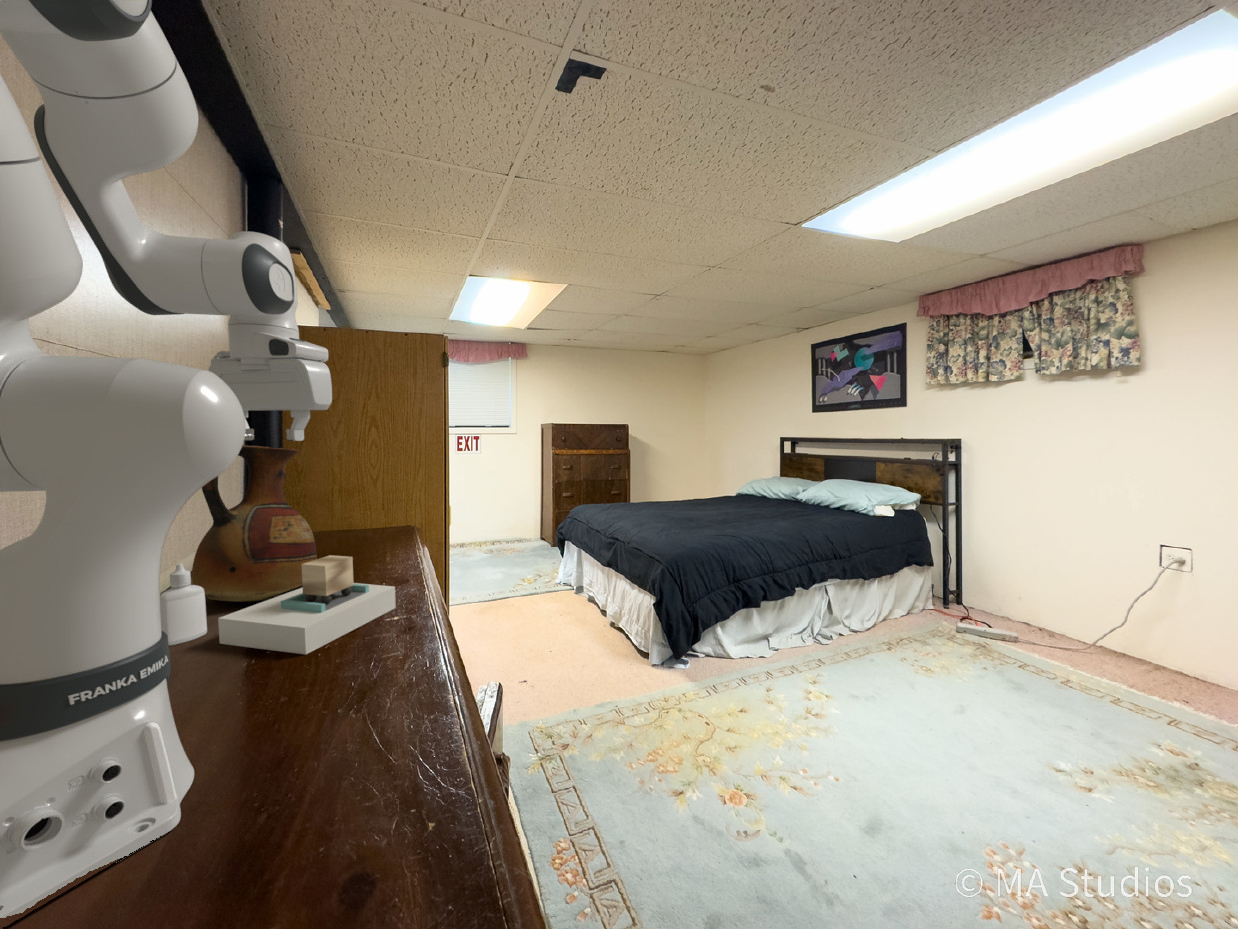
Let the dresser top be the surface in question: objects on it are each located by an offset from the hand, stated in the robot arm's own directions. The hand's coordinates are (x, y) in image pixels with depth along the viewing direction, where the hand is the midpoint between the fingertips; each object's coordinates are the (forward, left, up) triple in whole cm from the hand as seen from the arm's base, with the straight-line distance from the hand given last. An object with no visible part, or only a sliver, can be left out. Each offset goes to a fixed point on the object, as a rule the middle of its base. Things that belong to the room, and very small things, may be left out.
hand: (270, 440), depth 79 cm
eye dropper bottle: (-4, +14, -31) cm, 35 cm away
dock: (+6, -1, -31) cm, 32 cm away
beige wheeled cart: (+7, -3, -27) cm, 28 cm away
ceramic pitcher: (+16, +22, -31) cm, 42 cm away
